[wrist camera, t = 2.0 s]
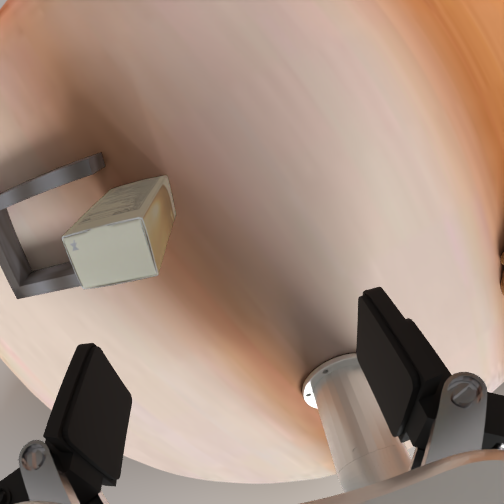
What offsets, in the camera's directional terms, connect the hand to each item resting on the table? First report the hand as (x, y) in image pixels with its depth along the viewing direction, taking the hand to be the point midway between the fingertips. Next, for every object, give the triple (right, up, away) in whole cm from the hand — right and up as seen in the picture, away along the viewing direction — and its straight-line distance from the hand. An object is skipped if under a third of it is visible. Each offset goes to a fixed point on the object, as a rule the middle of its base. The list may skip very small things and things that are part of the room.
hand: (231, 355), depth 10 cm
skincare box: (-10, +8, +20) cm, 24 cm away
